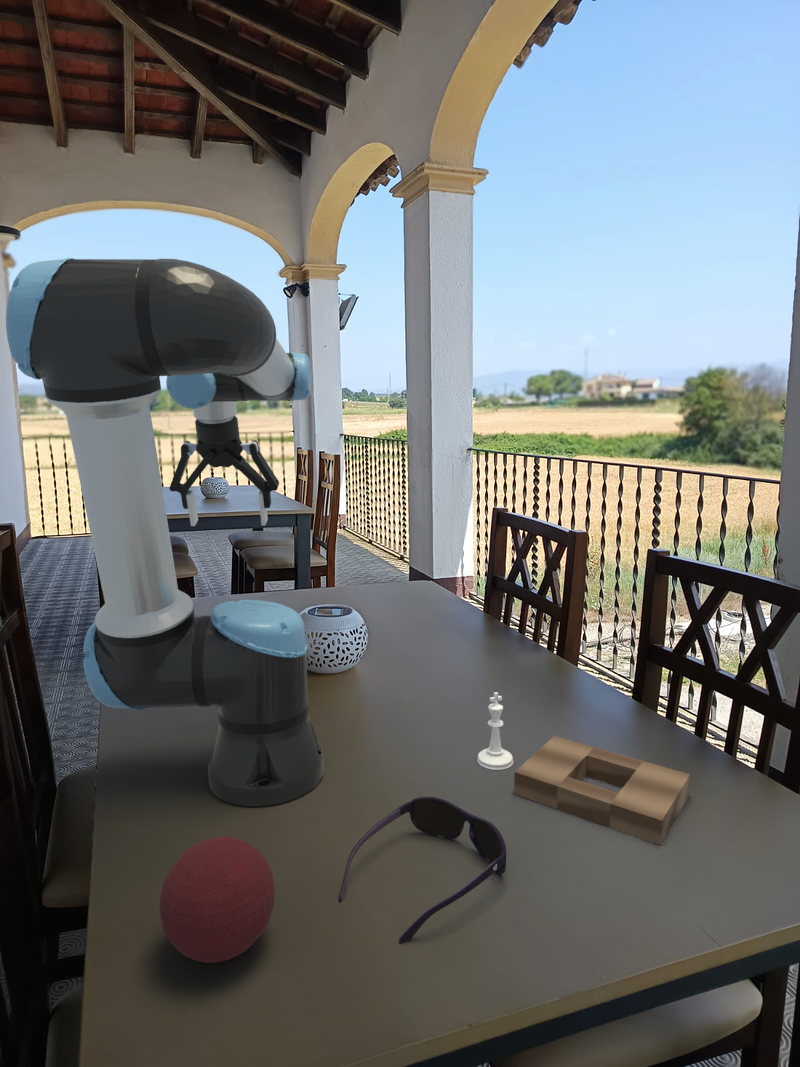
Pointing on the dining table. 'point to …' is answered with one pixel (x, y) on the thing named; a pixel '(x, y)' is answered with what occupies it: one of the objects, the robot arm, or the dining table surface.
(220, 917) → the decorative ball
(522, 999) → the dining table surface
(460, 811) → the sunglasses
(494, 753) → the chess piece
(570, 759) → the socket plate
